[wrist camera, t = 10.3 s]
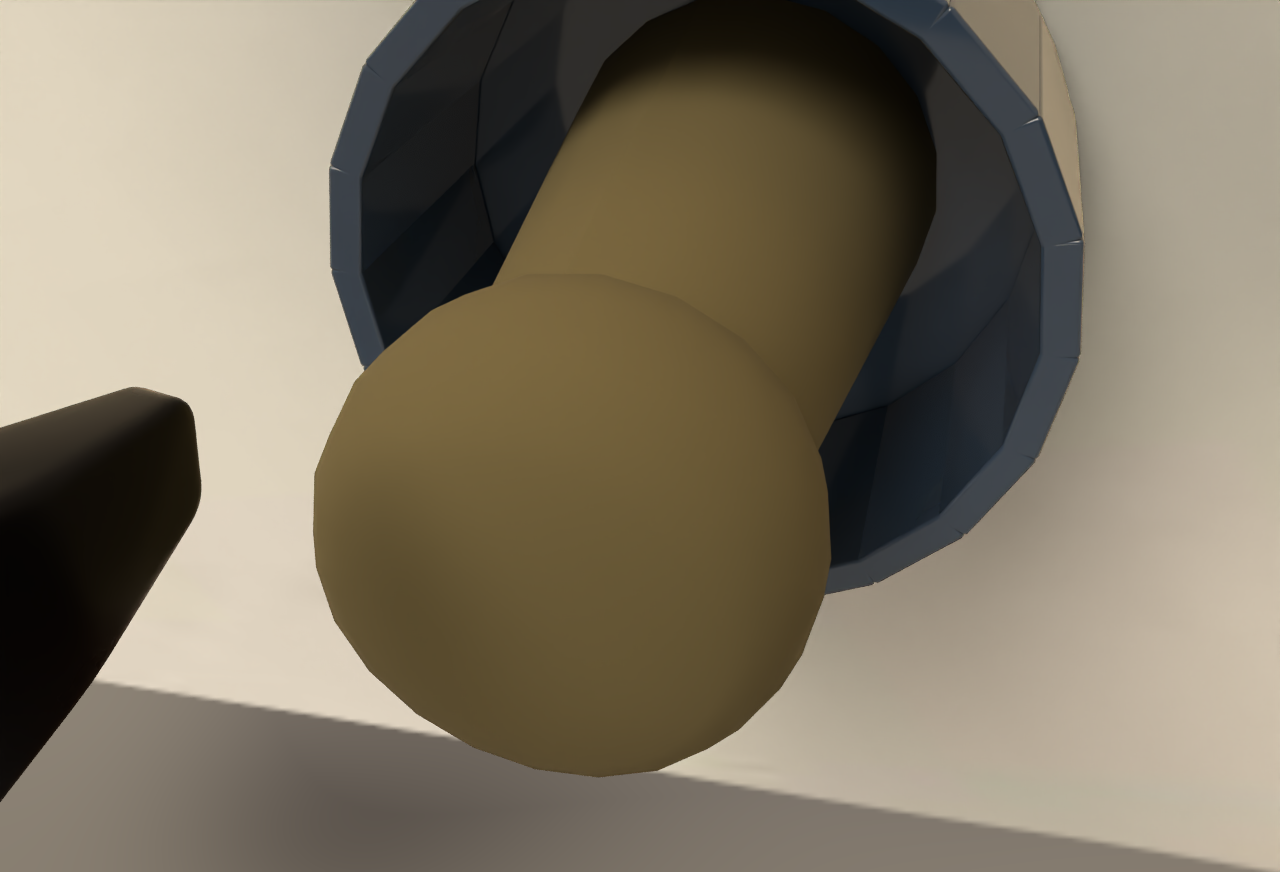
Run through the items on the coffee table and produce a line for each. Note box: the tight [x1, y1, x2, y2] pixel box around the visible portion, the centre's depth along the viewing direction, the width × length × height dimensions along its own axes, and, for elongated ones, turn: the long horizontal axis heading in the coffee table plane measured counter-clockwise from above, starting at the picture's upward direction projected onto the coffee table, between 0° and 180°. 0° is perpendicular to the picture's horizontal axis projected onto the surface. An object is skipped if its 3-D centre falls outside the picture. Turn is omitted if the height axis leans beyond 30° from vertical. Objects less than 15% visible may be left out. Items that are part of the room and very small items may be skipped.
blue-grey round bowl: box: [329, 0, 1085, 595], centre depth 18 cm, size 10×10×5 cm
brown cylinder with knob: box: [313, 0, 936, 777], centre depth 15 cm, size 6×6×11 cm
